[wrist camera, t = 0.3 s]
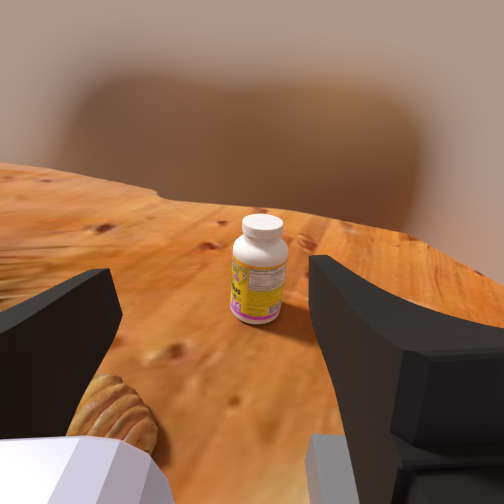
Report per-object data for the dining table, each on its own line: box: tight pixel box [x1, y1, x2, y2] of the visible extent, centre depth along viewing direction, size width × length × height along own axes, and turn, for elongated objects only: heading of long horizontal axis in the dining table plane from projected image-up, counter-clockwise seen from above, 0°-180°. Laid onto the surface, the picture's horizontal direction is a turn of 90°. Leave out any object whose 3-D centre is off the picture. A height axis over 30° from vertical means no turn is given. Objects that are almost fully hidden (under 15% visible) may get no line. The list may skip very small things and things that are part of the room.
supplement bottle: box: [231, 214, 288, 324], centre depth 40 cm, size 7×7×13 cm
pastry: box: [66, 372, 158, 456], centre depth 26 cm, size 9×7×4 cm
